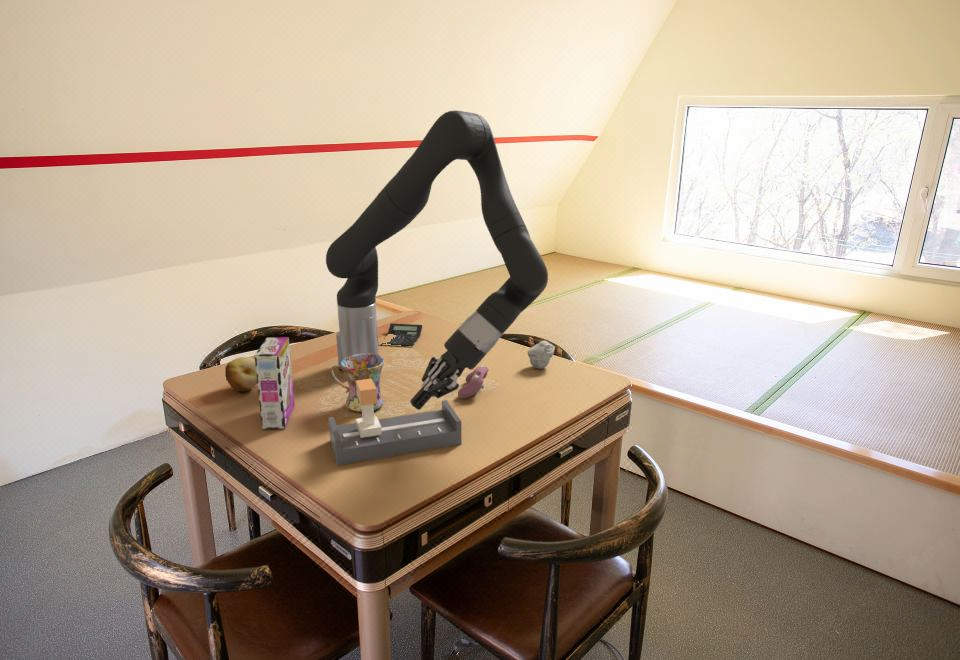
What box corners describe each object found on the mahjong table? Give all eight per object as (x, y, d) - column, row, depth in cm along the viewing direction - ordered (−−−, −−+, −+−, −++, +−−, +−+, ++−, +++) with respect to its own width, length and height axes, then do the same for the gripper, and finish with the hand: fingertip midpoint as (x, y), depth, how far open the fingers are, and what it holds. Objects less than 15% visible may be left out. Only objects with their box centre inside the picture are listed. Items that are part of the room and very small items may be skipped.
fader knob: (376, 423, 129) (374, 378, 126) (381, 434, 124) (379, 388, 121) (356, 426, 128) (353, 380, 125) (360, 437, 123) (357, 391, 120)
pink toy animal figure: (473, 406, 148) (486, 382, 145) (455, 396, 148) (468, 372, 145) (481, 388, 157) (494, 365, 154) (464, 379, 157) (477, 356, 154)
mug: (391, 398, 148) (389, 354, 145) (379, 416, 139) (376, 370, 136) (341, 395, 150) (337, 351, 146) (325, 412, 141) (321, 367, 138)
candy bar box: (286, 429, 134) (278, 354, 129) (261, 430, 133) (252, 355, 128) (296, 405, 144) (289, 335, 139) (273, 406, 144) (265, 336, 139)
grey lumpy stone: (557, 371, 163) (558, 344, 161) (531, 373, 161) (531, 347, 159) (549, 362, 169) (550, 336, 166) (523, 364, 167) (524, 339, 165)
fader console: (446, 421, 137) (446, 400, 135) (461, 443, 128) (461, 421, 126) (330, 440, 129) (328, 417, 128) (337, 465, 121) (335, 441, 119)
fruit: (225, 398, 148) (221, 365, 145) (231, 384, 156) (226, 352, 153) (260, 395, 149) (256, 363, 147) (264, 381, 157) (260, 350, 154)
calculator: (379, 346, 181) (378, 336, 180) (391, 332, 192) (391, 322, 191) (412, 348, 179) (411, 337, 178) (422, 334, 190) (422, 324, 189)
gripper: (450, 318, 132) (392, 382, 132) (471, 339, 120) (408, 410, 120) (475, 340, 135) (419, 402, 135) (498, 362, 123) (436, 431, 124)
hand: (414, 406), depth 128 cm, fingers closed
